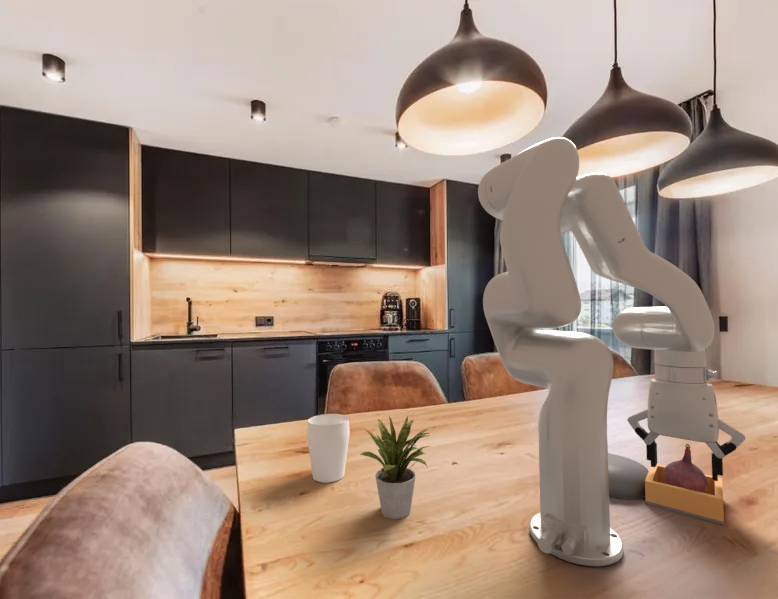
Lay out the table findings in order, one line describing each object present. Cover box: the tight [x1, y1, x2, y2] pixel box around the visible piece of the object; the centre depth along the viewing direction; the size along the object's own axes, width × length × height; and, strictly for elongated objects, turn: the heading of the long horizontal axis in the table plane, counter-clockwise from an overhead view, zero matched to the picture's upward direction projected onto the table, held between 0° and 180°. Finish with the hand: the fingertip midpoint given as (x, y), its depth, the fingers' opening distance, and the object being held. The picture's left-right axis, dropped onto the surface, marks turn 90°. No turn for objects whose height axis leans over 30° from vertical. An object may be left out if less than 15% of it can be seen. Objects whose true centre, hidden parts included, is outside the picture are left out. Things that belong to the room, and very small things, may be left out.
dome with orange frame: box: [608, 452, 725, 526], centre depth 72 cm, size 14×24×4 cm, turn 49°
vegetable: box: [664, 443, 708, 493], centre depth 67 cm, size 6×6×10 cm
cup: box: [306, 413, 351, 484], centre depth 79 cm, size 9×9×12 cm
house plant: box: [359, 415, 436, 520], centre depth 64 cm, size 14×14×16 cm
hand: (683, 470), depth 67 cm, fingers open, 8 cm apart
